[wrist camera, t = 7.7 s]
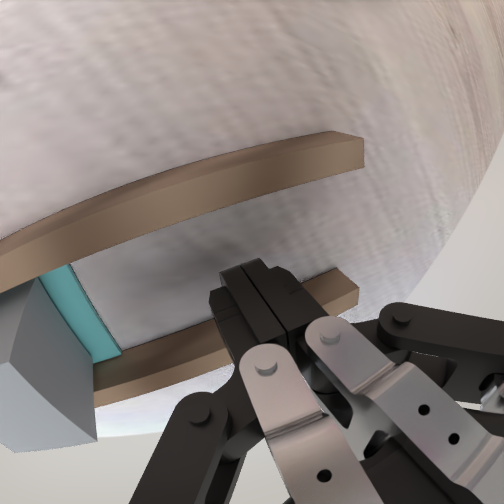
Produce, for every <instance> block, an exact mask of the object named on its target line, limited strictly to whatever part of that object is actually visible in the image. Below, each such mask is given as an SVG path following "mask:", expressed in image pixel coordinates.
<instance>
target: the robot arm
mask: <svg viewBox="0 0 504 504" xmlns="http://www.w3.org/2000/svg"><path fill="white" fill-rule="evenodd" d="M219 276H220V280H221V284H222V287H220V288H217V289H215V290H212V291H210V297H209V305H210V308H211V311H212V314H213V316H214V319H215V322H216V325H217V328H218V331H219V333H220V335H221V338H222V340H223V342H224V344H225V346H226V349H227V351H228V353H229V355H230V357H231V359H232V362H233V364H234V366H235V369H234V372H233V375H232V376H231V378H230V379H229V380H228V382H227V383H226V384H224V385H223V386H222V387H221V388H219V389H218V390H217V391H215V392H214V393H209V392H196V393H192V394H190V395H188V396H186V397H184V398H183V399H182V400H181V401H180V402H179V403H178V404H177V405H176V407H175V409H174V411H173V413H172V415H171V417H170V419H169V421H168V423H167V425H166V427H165V430H164V432H163V434H162V436H161V438H160V440H159V442H158V444H157V446H156V448H155V450H154V453H153V454H152V457H151V459H150V461H149V463H148V465H147V467H146V469H145V471H144V473H143V475H142V477H141V479H140V481H139V483H138V486H137V488H136V490H135V492H134V494H133V496H132V498H131V500H130V502H129V504H229V502H230V499H231V497H232V494H233V491H234V488H235V486H236V483H237V480H238V477H239V474H240V472H241V469H242V466H243V463H244V460H245V457H246V454H247V451H249V450H250V449H251V448H252V447H254V446H255V445H256V444H257V443H258V442H260V441H261V440H262V439H263V438H264V437H265V440H266V442H267V445H268V447H269V449H270V452H271V454H272V456H273V459H274V461H275V463H276V466H277V468H278V471H279V473H280V475H281V478H282V480H283V482H284V484H285V487H286V489H287V491H288V493H289V495H290V498H288V499H287V500H286V501H285V502H284V503H283V504H504V321H499V320H493V319H487V318H482V317H476V316H470V315H466V314H460V313H455V312H449V311H444V310H439V309H434V308H429V307H423V306H418V305H413V304H408V303H402V302H395V303H391V304H388V305H386V306H385V307H384V308H383V309H382V310H381V311H380V314H379V318H378V319H374V320H369V321H365V322H360V323H349V322H348V321H346V320H344V319H343V318H340V317H336V316H330V315H329V314H328V313H327V312H326V311H325V310H324V309H323V308H322V306H321V305H320V304H319V303H318V302H317V301H316V300H315V299H314V298H313V297H312V295H311V294H310V293H309V292H308V291H307V290H306V289H304V287H303V286H302V285H301V283H300V282H298V281H297V279H296V278H295V277H294V276H293V275H292V274H291V272H290V271H287V270H285V269H283V268H281V267H279V266H276V267H274V268H271V269H269V268H268V267H267V266H266V265H265V264H264V262H263V261H262V260H261V259H260V258H257V259H255V260H252V261H249V262H246V263H243V264H241V265H238V266H235V267H233V268H230V269H227V270H224V271H222V272H219ZM416 352H418V353H416ZM421 353H422V354H421ZM426 354H427V355H426ZM431 355H433V356H431ZM436 356H438V357H436ZM303 377H304V378H303ZM304 379H305V380H306V382H305V380H304ZM455 401H461V402H468V403H475V404H482V405H481V407H480V411H479V410H473V409H467V408H462V407H461V406H460V405H459V404H458V403H457V402H455ZM319 406H320V407H319ZM321 409H322V410H323V411H324V412H323V411H322V410H321Z"/></svg>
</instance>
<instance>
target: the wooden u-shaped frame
mask: <svg viewBox="0 0 504 504" xmlns="http://www.w3.org/2000/svg"><path fill="white" fill-rule="evenodd" d="M360 168H364V138H360V137H356V136H352V135H348V134H344V133H340V132H336V131H329V132H323V133H317V134H311V135H306V136H301V137H296V138H291V139H286V140H281V141H276V142H272V143H267V144H263V145H259V146H254V147H250V148H246V149H242V150H238V151H234V152H230V153H226V154H222V155H219V156H215V157H211V158H208V159H204V160H201V161H197V162H194V163H191V164H187V165H184V166H181V167H177V168H174V169H171V170H168V171H165V172H162V173H159V174H156V175H153V176H150V177H147V178H144V179H141V180H138V181H135V182H132V183H130V184H127V185H124V186H121V187H119V188H116V189H113V190H111V191H108V192H105V193H103V194H100V195H98V196H95V197H93V198H90V199H88V200H85V201H83V202H81V203H78V204H76V205H73V206H71V207H69V208H66V209H64V210H62V211H60V212H57V213H55V214H53V215H51V216H49V217H46V218H44V219H42V220H40V221H38V222H36V223H34V224H32V225H30V226H28V227H25V228H23V229H21V230H19V231H18V232H16V233H14V234H12V235H10V236H8V237H6V238H4V239H2V240H0V293H2V292H4V291H6V290H9V289H11V288H13V287H15V286H17V285H20V284H22V283H24V282H26V281H29V280H31V279H33V278H36V277H37V278H38V279H39V281H40V283H41V284H42V286H43V288H44V289H45V291H46V293H47V294H48V296H49V298H50V299H51V301H52V302H53V304H54V306H55V307H56V309H57V310H58V312H59V313H60V315H61V316H62V318H63V319H64V321H65V322H66V324H67V325H68V326H69V328H70V329H71V331H72V332H73V334H74V335H75V336H76V338H77V339H78V340H79V342H80V343H81V344H82V346H83V347H84V348H85V350H86V351H87V352H88V354H89V355H90V356H91V357H92V359H93V392H94V408H97V407H100V406H104V405H108V404H112V403H115V402H119V401H122V400H126V399H129V398H133V397H136V396H139V395H143V394H146V393H149V392H152V391H155V390H159V389H162V388H165V387H168V386H171V385H174V384H177V383H179V382H182V381H185V380H188V379H191V378H194V377H196V376H199V375H202V374H205V373H207V372H210V371H213V370H215V369H218V368H220V367H223V366H226V365H228V364H231V363H233V362H232V359H231V357H230V355H229V353H228V351H227V349H226V346H225V344H224V342H223V340H222V338H221V335H220V333H219V331H218V328H217V325H216V322H215V319H212V320H209V321H206V322H204V323H201V324H198V325H196V326H193V327H190V328H188V329H185V330H182V331H179V332H177V333H174V334H171V335H168V336H166V337H163V338H160V339H157V340H154V341H151V342H148V343H146V344H143V345H140V346H137V347H134V348H131V349H128V350H125V351H122V352H121V349H120V348H119V346H118V345H117V343H116V342H115V340H114V339H113V337H112V336H111V334H110V333H109V331H108V330H107V328H106V327H105V325H104V324H103V322H102V320H101V319H100V317H99V316H98V314H97V312H96V311H95V309H94V307H93V306H92V304H91V302H90V301H89V299H88V297H87V295H86V294H85V292H84V290H83V288H82V287H81V285H80V283H79V281H78V279H77V278H76V276H75V274H74V272H73V270H72V268H71V266H70V264H69V263H71V262H74V261H76V260H79V259H81V258H84V257H86V256H89V255H91V254H94V253H97V252H99V251H102V250H104V249H107V248H109V247H112V246H115V245H117V244H120V243H123V242H125V241H128V240H131V239H133V238H136V237H139V236H142V235H144V234H147V233H150V232H153V231H156V230H158V229H161V228H164V227H167V226H170V225H173V224H176V223H178V222H181V221H184V220H187V219H190V218H193V217H196V216H199V215H202V214H205V213H208V212H211V211H214V210H217V209H221V208H224V207H227V206H230V205H233V204H236V203H239V202H243V201H246V200H249V199H252V198H256V197H259V196H262V195H266V194H269V193H272V192H276V191H279V190H283V189H286V188H290V187H293V186H297V185H300V184H304V183H307V182H311V181H314V180H318V179H322V178H325V177H329V176H333V175H337V174H340V173H344V172H348V171H352V170H356V169H360ZM301 285H302V286H303V287H304V289H306V290H307V291H308V292H309V293H310V294H311V295H312V297H313V298H314V299H315V300H316V301H317V302H318V303H319V304H320V305H321V306H322V308H323V309H324V310H325V311H326V312H327V313H328V314H329V315H330V316H337V315H339V314H341V313H343V312H345V311H346V310H348V309H350V308H352V307H354V306H356V305H358V297H359V287H358V286H357V285H356V284H355V283H354V282H352V281H351V280H350V279H349V278H348V277H347V276H346V275H344V274H343V273H342V272H341V271H340V270H339V269H337V268H336V269H333V270H331V271H329V272H327V273H324V274H322V275H320V276H317V277H315V278H313V279H310V280H308V281H306V282H304V283H301Z"/></svg>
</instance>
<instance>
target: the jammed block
mask: <svg viewBox="0 0 504 504" xmlns="http://www.w3.org/2000/svg"><path fill="white" fill-rule="evenodd" d="M92 442H97V432H96V422H95V410H94V392H93V359H92V357H91V356H90V355H89V354H88V352H87V351H86V350H85V348H84V347H83V346H82V344H81V343H80V342H79V340H78V339H77V338H76V336H75V335H74V334H73V332H72V331H71V329H70V328H69V326H68V325H67V324H66V322H65V321H64V319H63V318H62V316H61V315H60V313H59V312H58V310H57V309H56V307H55V306H54V304H53V302H52V301H51V299H50V298H49V296H48V294H47V293H46V291H45V289H44V288H43V286H42V284H41V283H40V281H39V279H38V278H37V277H36V278H33V279H31V280H29V281H26V282H24V283H22V284H20V285H17V286H15V287H13V288H11V289H9V290H6V291H4V292H2V293H0V443H1V444H3V445H4V446H6V447H7V448H8V449H10V450H11V451H13V452H14V453H18V452H30V451H40V450H49V449H56V448H63V447H70V446H75V445H81V444H87V443H92Z"/></svg>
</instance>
